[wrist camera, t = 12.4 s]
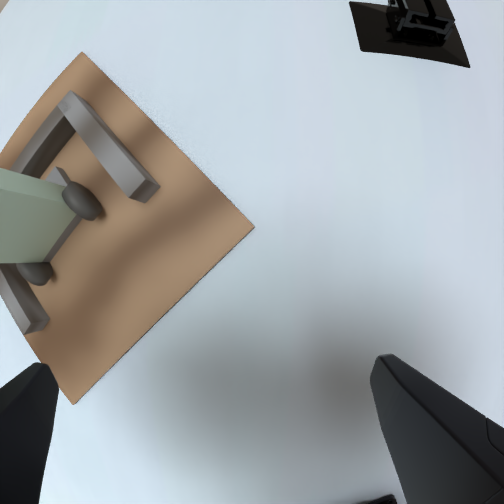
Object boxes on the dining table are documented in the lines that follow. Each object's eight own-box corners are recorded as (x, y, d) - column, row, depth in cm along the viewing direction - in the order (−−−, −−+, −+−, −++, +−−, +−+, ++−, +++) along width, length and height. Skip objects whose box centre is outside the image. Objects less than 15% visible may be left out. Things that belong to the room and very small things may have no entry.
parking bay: (254, 226, 19) (248, 222, 17) (75, 403, 21) (56, 415, 18) (83, 52, 21) (68, 39, 19) (-32, 215, 23) (-50, 213, 20)
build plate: (340, 62, 19) (348, 23, 15) (328, -4, 19) (331, -42, 15) (485, 83, 18) (512, 58, 13) (461, 18, 18) (479, -11, 13)
